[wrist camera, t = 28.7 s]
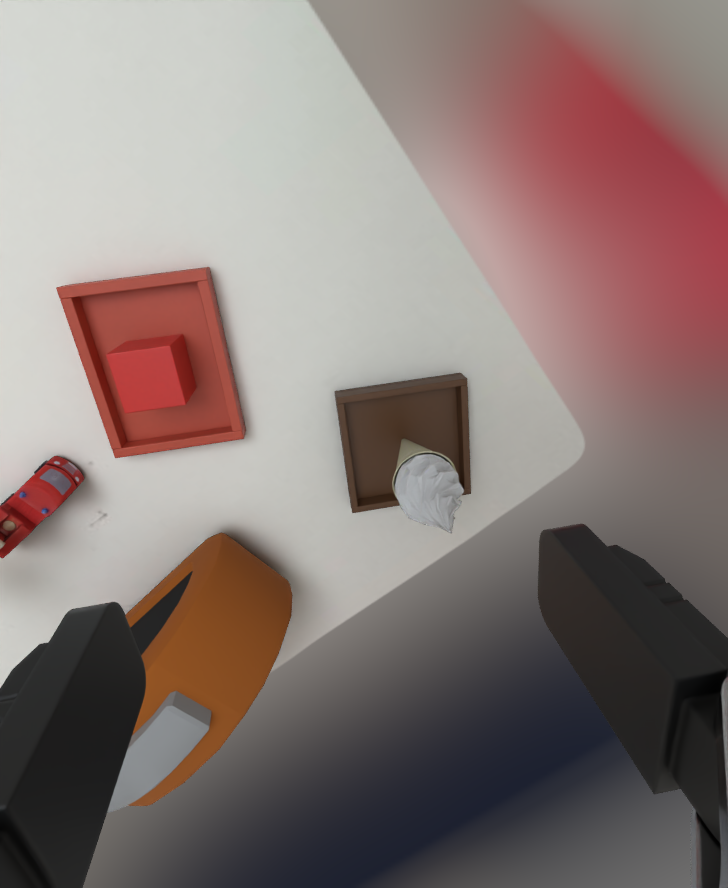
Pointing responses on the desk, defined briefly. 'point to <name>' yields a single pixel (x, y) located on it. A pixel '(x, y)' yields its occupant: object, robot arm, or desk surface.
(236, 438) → the red tray
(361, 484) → the brown tray
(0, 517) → the toy fire truck
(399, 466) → the ice cream cone
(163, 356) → the red block
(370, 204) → the desk surface
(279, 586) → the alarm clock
